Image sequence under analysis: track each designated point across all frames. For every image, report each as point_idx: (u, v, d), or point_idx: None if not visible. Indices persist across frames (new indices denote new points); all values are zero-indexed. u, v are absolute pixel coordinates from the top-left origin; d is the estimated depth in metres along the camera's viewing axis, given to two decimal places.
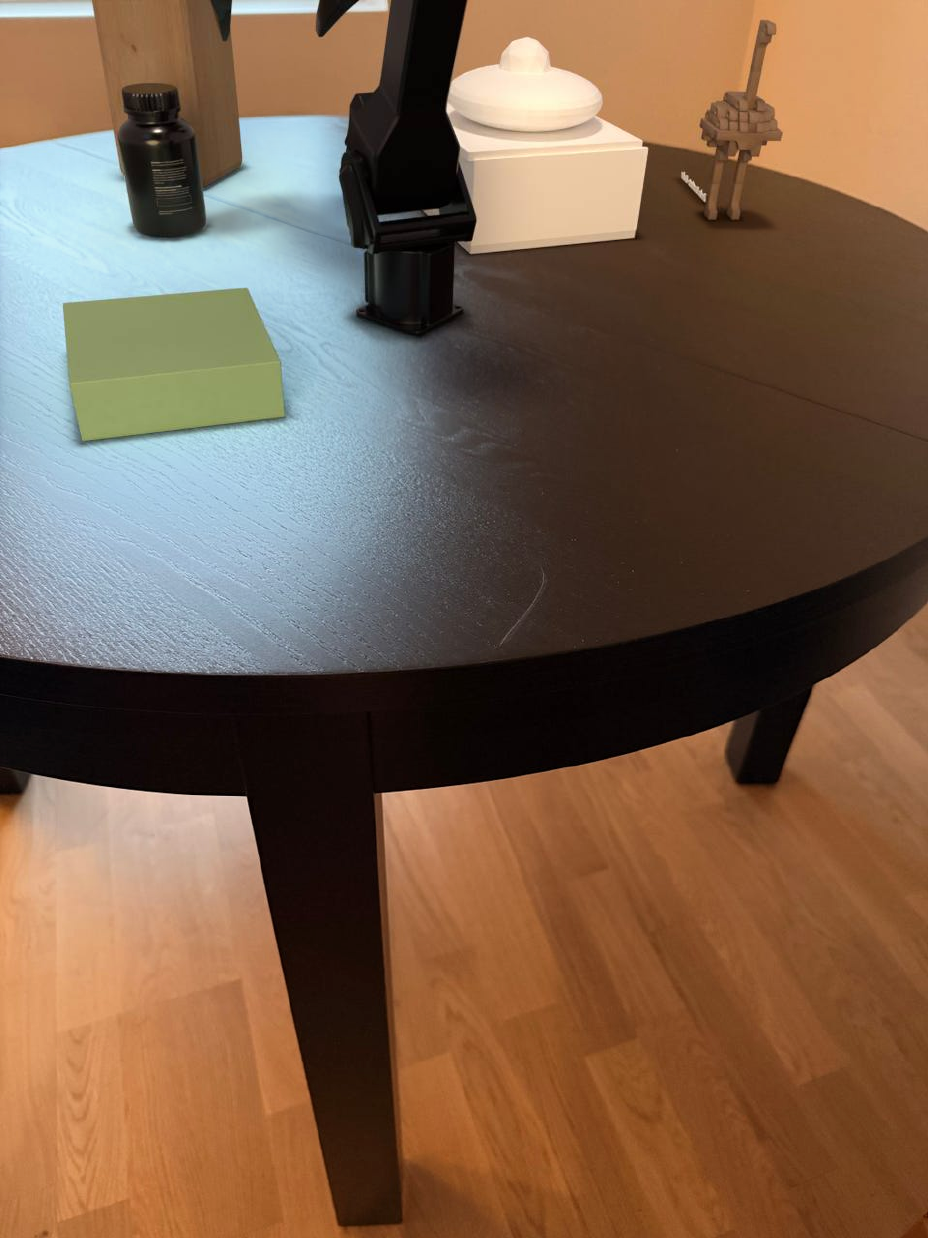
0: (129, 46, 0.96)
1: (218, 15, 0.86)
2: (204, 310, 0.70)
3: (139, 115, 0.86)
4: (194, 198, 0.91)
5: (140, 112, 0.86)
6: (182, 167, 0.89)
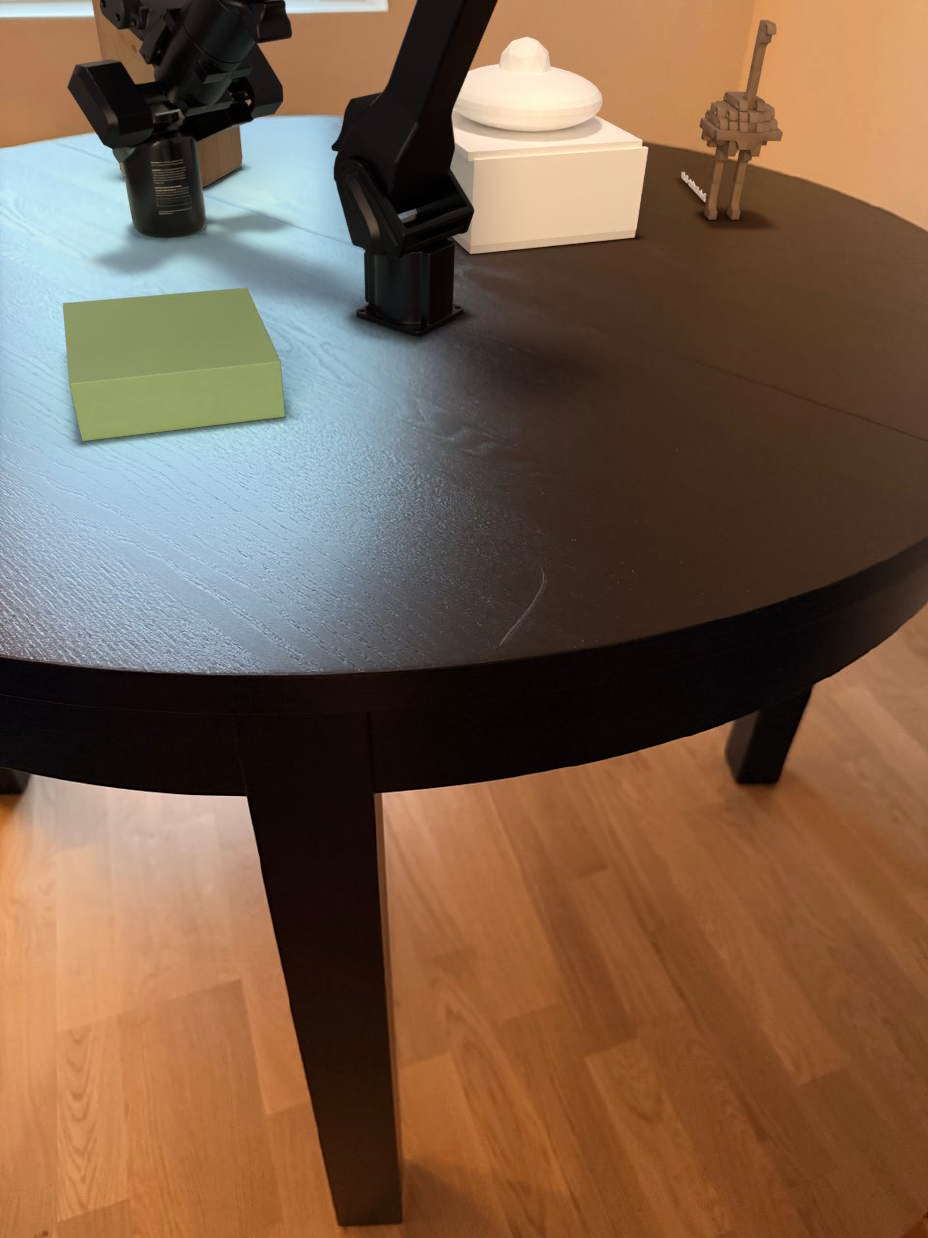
0: (129, 46, 0.96)
1: (132, 153, 0.85)
2: (204, 310, 0.70)
3: None
4: (194, 198, 0.91)
5: None
6: (182, 167, 0.89)
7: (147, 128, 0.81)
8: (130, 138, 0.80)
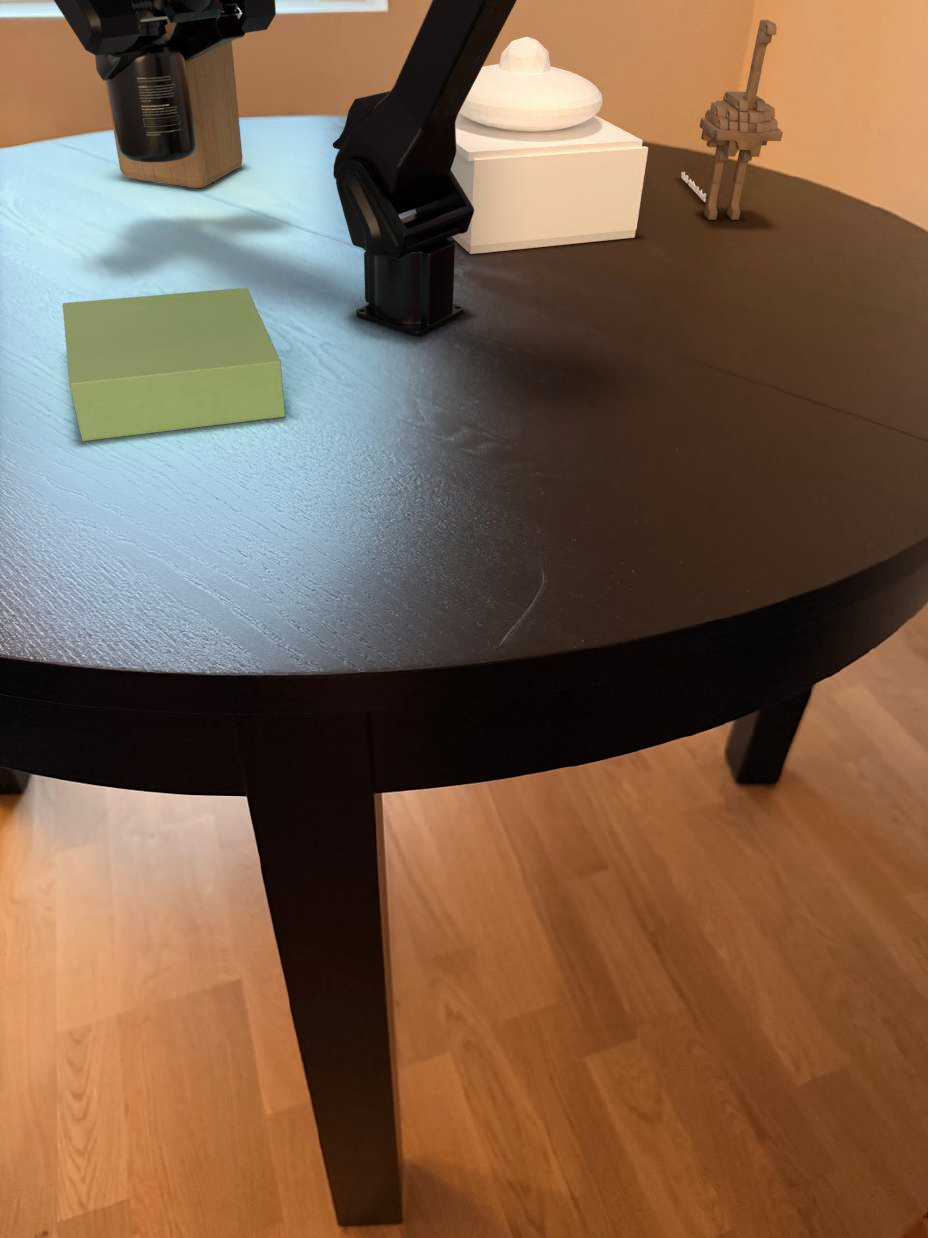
0: None
1: (117, 65, 0.81)
2: (204, 310, 0.70)
3: None
4: (183, 119, 0.87)
5: None
6: (170, 84, 0.84)
7: (132, 33, 0.76)
8: (114, 43, 0.76)
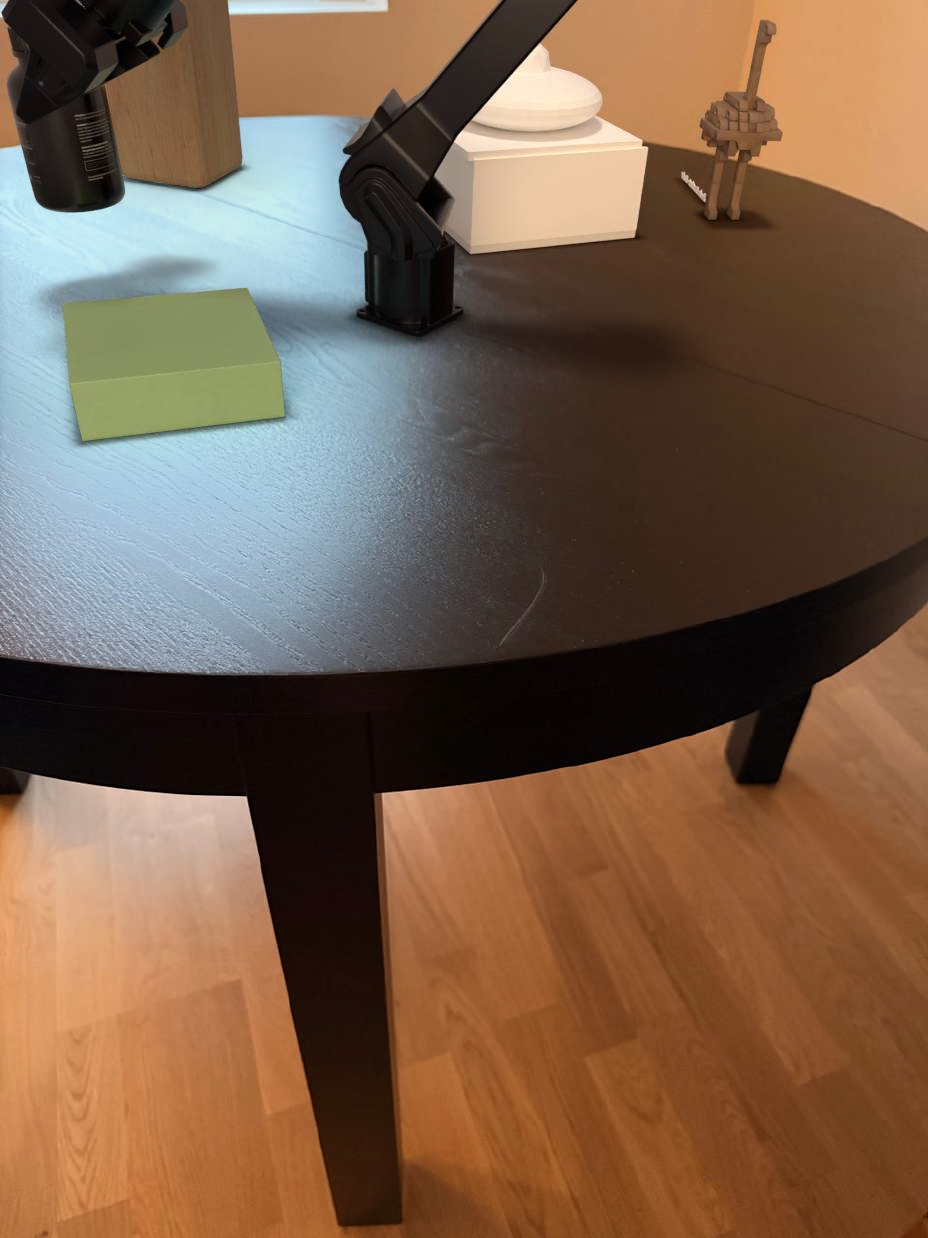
0: None
1: (68, 103, 0.69)
2: (204, 310, 0.70)
3: None
4: (118, 156, 0.76)
5: None
6: (105, 118, 0.74)
7: (114, 62, 0.66)
8: (100, 77, 0.65)
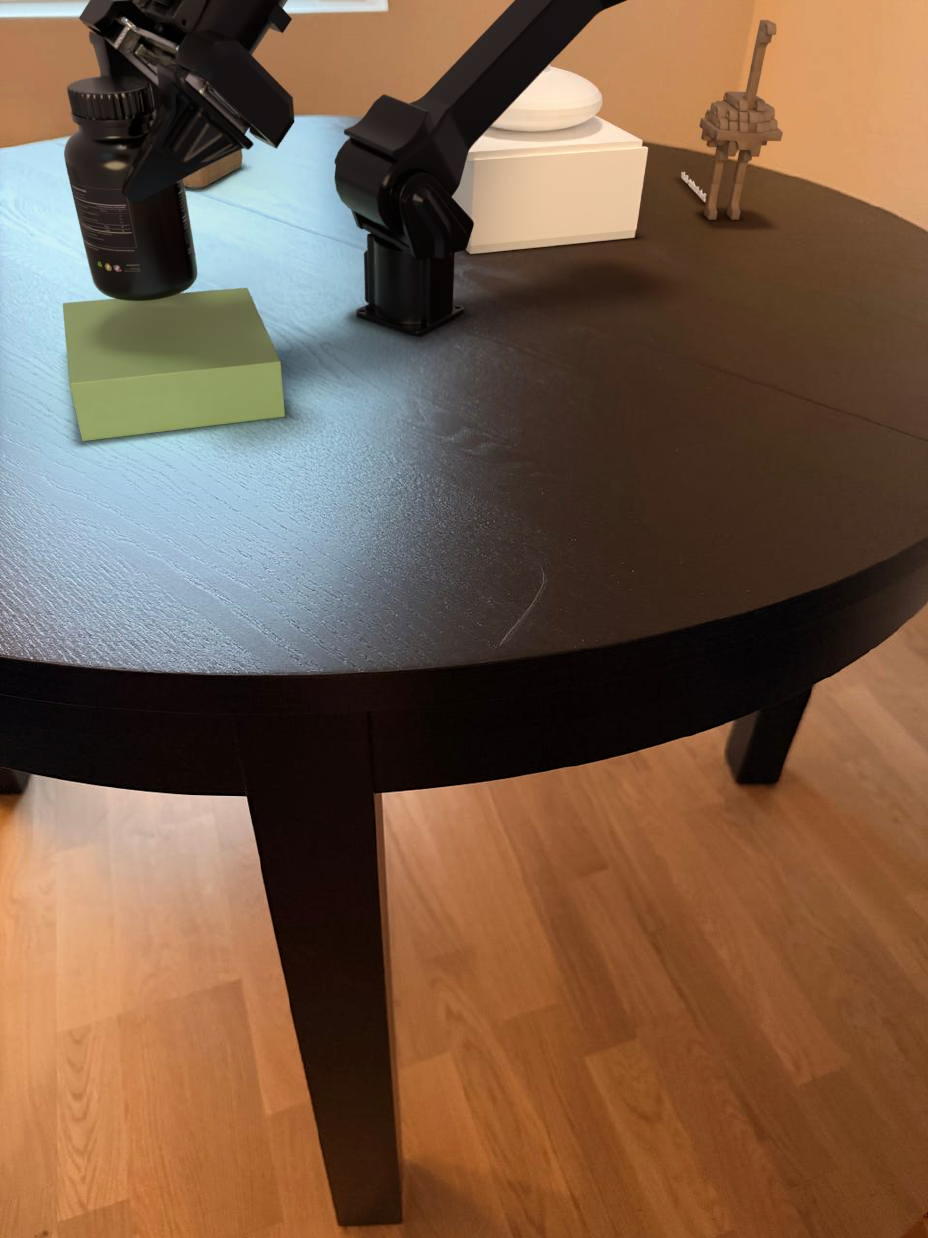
0: None
1: (202, 167, 0.60)
2: (204, 310, 0.70)
3: (145, 121, 0.59)
4: None
5: (147, 117, 0.59)
6: None
7: None
8: None
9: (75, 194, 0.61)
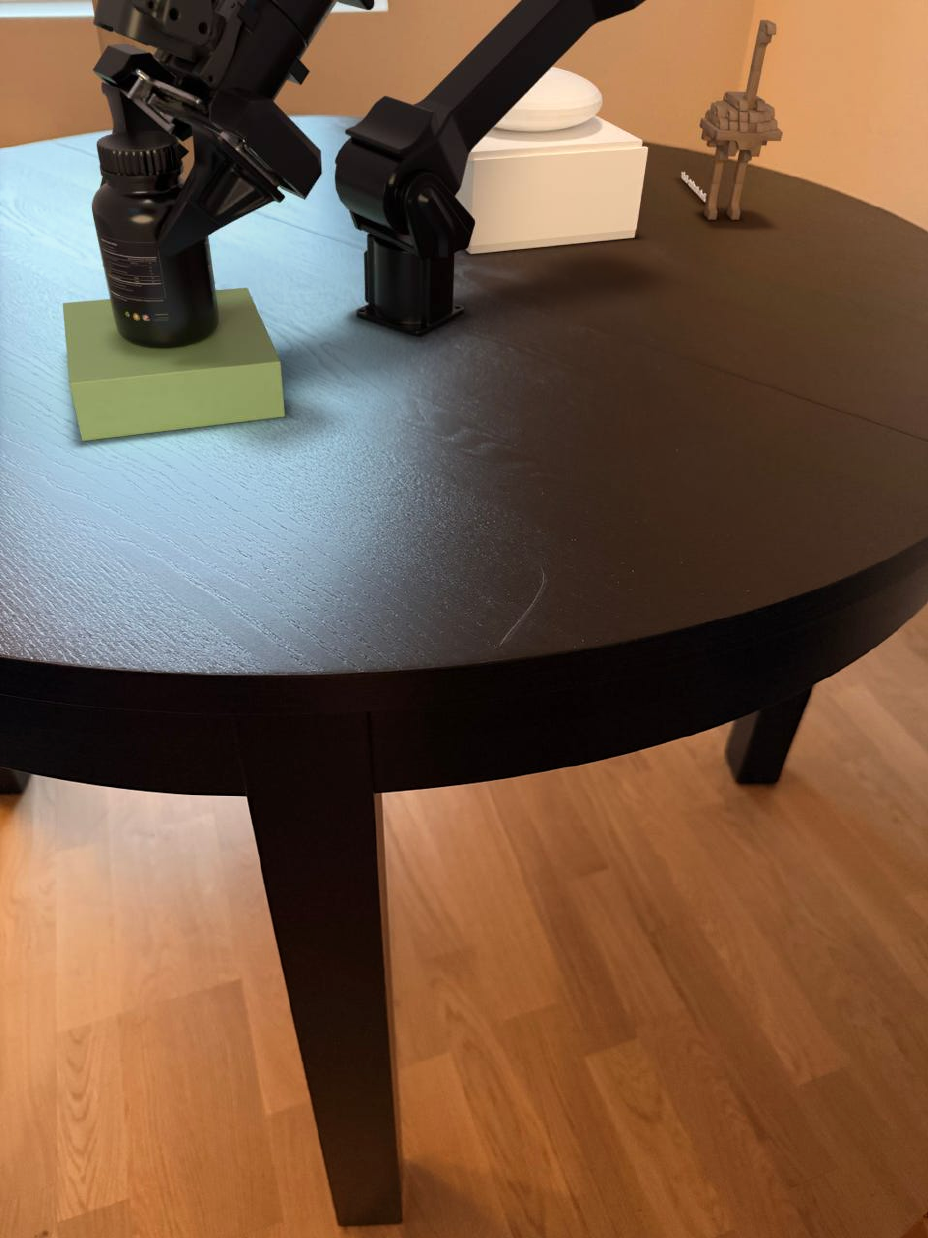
0: None
1: (234, 220, 0.61)
2: None
3: (174, 176, 0.60)
4: None
5: (176, 171, 0.60)
6: None
7: None
8: None
9: (104, 247, 0.62)
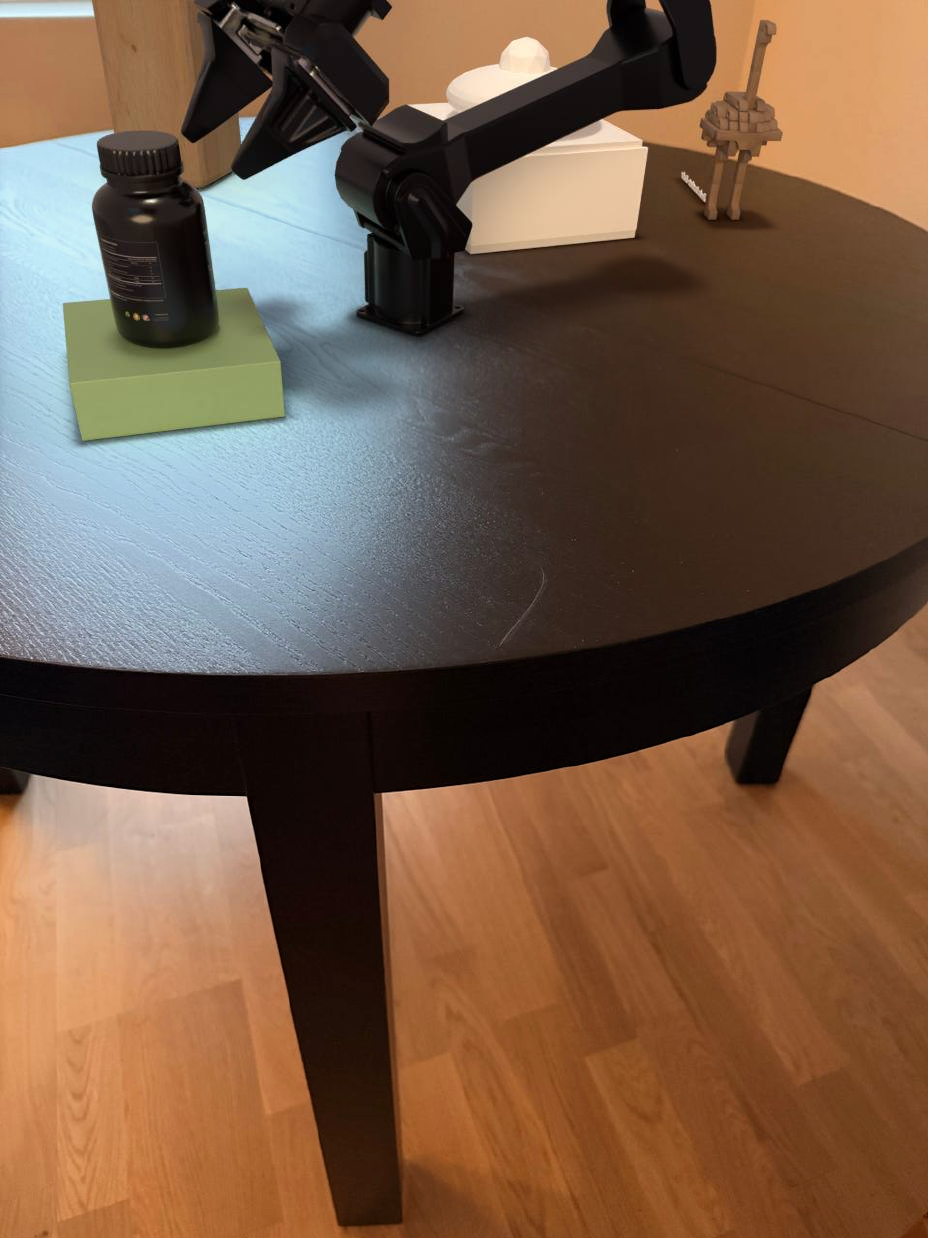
0: (129, 46, 0.96)
1: (307, 147, 0.63)
2: None
3: (174, 176, 0.60)
4: None
5: (177, 171, 0.60)
6: None
7: None
8: None
9: (104, 247, 0.62)
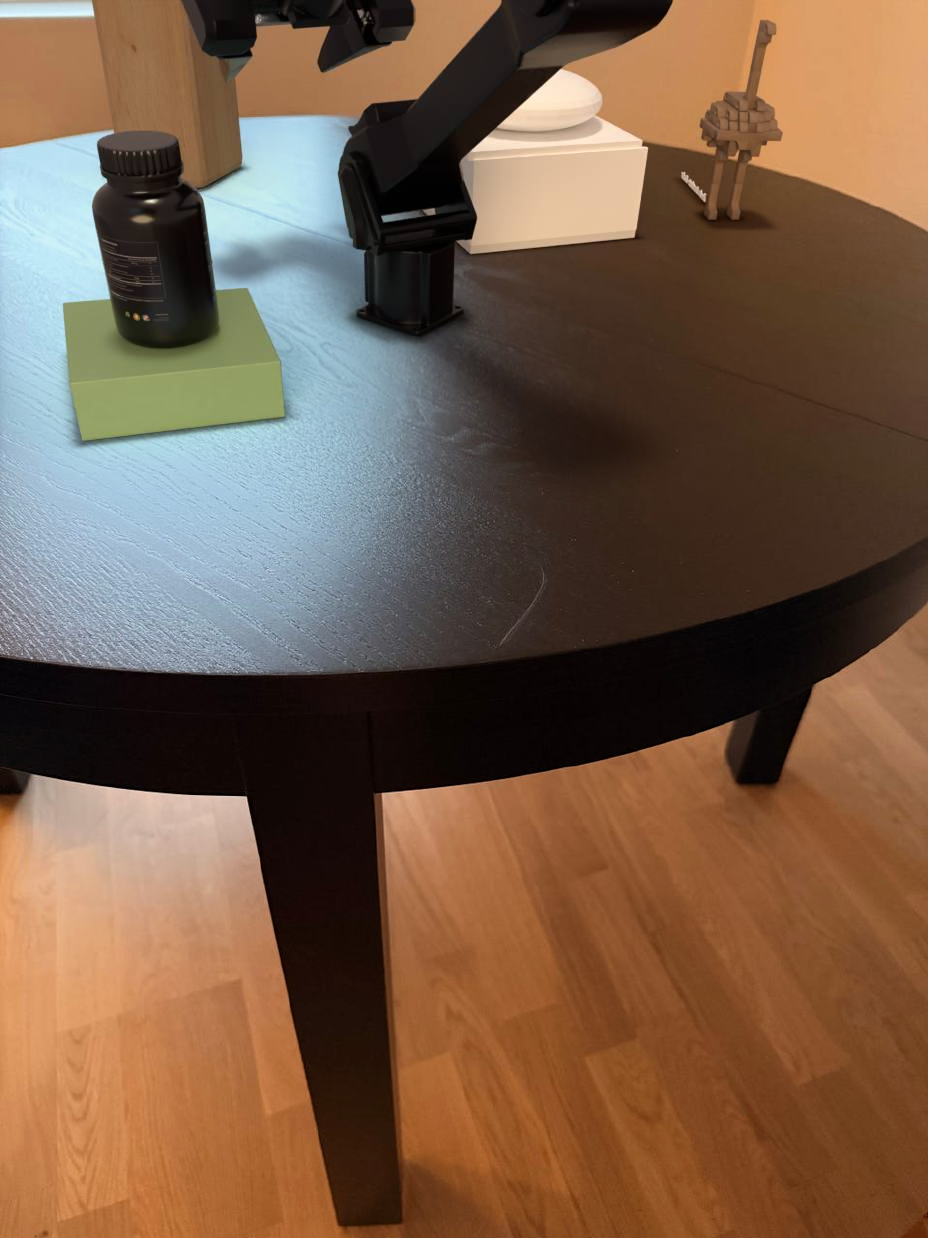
0: (129, 46, 0.96)
1: (230, 68, 0.80)
2: None
3: (174, 176, 0.60)
4: None
5: (177, 171, 0.60)
6: None
7: (249, 36, 0.76)
8: (230, 46, 0.76)
9: (104, 247, 0.62)
